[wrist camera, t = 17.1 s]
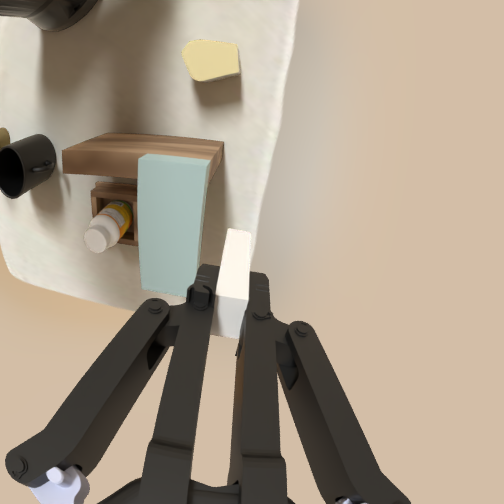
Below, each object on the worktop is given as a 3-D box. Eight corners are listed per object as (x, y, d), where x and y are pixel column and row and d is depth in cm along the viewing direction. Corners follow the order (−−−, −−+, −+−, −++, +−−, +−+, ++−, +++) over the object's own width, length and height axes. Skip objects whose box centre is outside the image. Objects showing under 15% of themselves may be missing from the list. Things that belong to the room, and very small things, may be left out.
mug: (66, 184, 40) (37, 204, 33) (25, 178, 39) (-4, 196, 31) (67, 134, 35) (34, 146, 28) (24, 133, 34) (-7, 145, 26)
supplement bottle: (120, 232, 45) (96, 263, 36) (102, 209, 42) (74, 236, 34) (140, 217, 43) (117, 247, 35) (122, 192, 41) (94, 217, 32)
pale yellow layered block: (249, 33, 29) (248, 24, 24) (253, 89, 34) (252, 87, 29) (179, 42, 29) (168, 35, 25) (183, 96, 34) (173, 96, 30)
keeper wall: (107, 132, 36) (62, 150, 25) (223, 141, 38) (210, 160, 27) (107, 150, 38) (63, 173, 27) (220, 161, 39) (207, 187, 29)
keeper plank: (147, 153, 26) (138, 158, 24) (210, 160, 27) (206, 166, 25) (147, 277, 35) (141, 289, 33) (197, 286, 36) (194, 298, 33)
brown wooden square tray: (97, 181, 40) (88, 187, 38) (149, 186, 41) (142, 193, 38) (101, 232, 45) (93, 241, 43) (149, 240, 46) (143, 249, 44)
